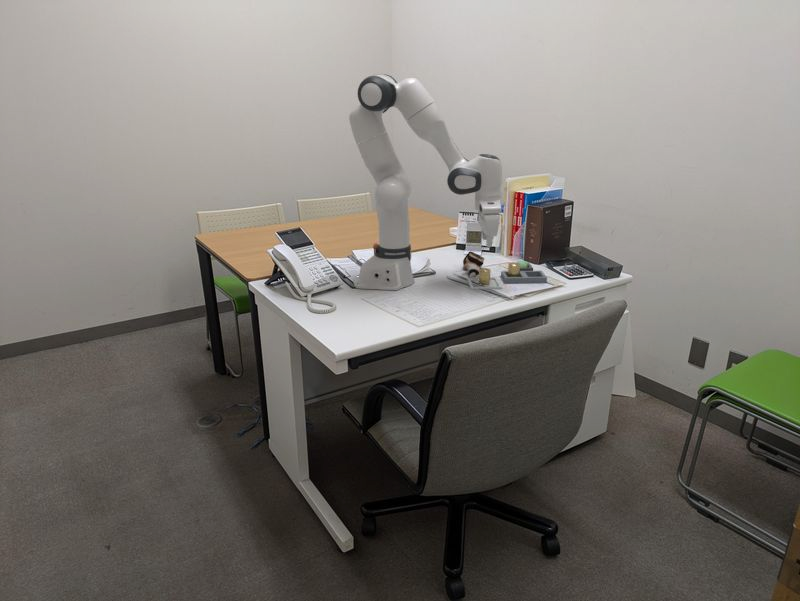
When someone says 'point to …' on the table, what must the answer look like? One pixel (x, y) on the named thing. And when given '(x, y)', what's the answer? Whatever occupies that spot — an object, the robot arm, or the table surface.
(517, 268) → the billet
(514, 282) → the compartment tray
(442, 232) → the table surface
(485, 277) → the cylinder
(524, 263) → the button
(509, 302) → the table surface
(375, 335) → the table surface
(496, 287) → the grey square tray
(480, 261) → the figurine
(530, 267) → the button housing
